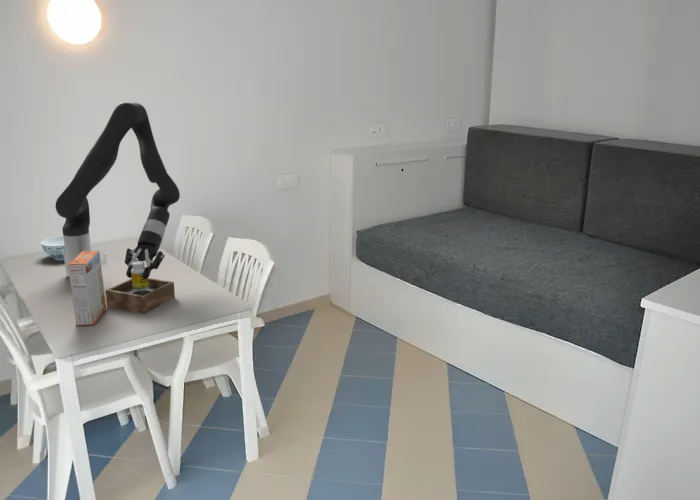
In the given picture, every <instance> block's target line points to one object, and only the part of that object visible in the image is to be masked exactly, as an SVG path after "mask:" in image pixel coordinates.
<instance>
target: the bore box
mask: <svg viewBox="0 0 700 500" xmlns="http://www.w3.org/2000/svg"><path fill="white" fill-rule="evenodd" d="M148 284H149V287H148V289H147V290H143V291H135V290H133V286H132V278H129V279H128V280H126V281H125V280H124V281H123V282H121V283H118V284H116V285H114V286H112V287H109V288H107V289H104V292H105V300H106V308H107V307H108V308H111V309H117V310H123V311H128V312H134V313H137V314H138V313H139V314H144V315H145V314H147V313H149V312H152V311H153V310H155V309H156V308H159V307H160V306H162V305H164V304H166V303H168V302H170V301H172V300H174V299H175V298H176V294H175V282H174V281H172V280H171V281H170V280H164V279H158V278H153V277H148Z"/></svg>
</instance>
